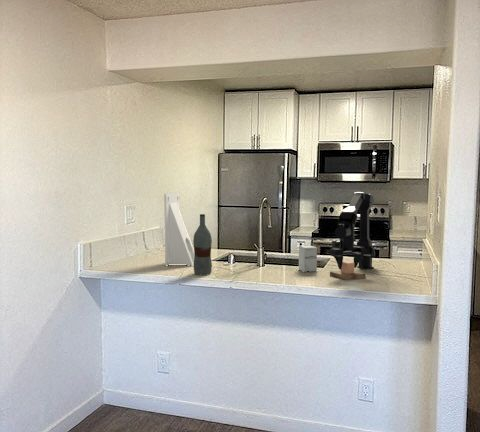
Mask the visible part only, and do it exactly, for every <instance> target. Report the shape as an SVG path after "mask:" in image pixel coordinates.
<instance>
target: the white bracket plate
mask: <svg viewBox="0 0 480 432" xmlns="http://www.w3.org/2000/svg"><path fill="white" fill-rule="evenodd" d="M163 200H164V258H165V259H164V262H165V263H164V265H169V264H186V265H193V264H194V263H193V262H194V257H195V254H194V244H193V241H192V240H191V237H190V235H189V232H188V230H187V226H186V223H185V222H184V218H183V215H182V213H181V211H180V208H181V207H180V204H181V203H180V192H169V193H168V192H167V193H166V192H165V193H164V199H163Z"/></svg>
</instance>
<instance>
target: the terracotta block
mask: <svg viewBox="0 0 480 432" xmlns="http://www.w3.org/2000/svg"><path fill="white" fill-rule="evenodd" d="M340 270H341V272H342V273H346V274H350V273H354V271H355V268H354V261H353V262H352V261H343V262H342V268H341V269H340Z"/></svg>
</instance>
